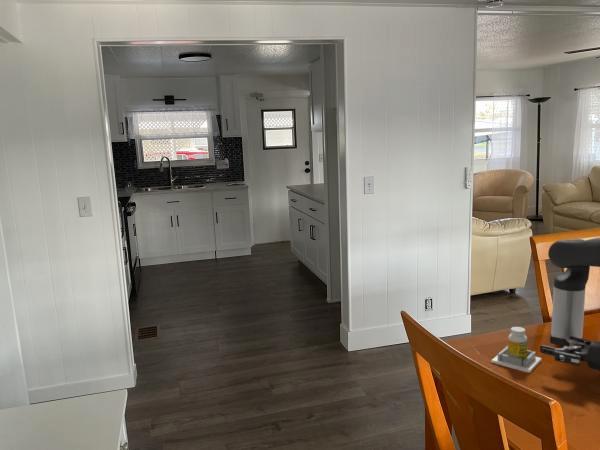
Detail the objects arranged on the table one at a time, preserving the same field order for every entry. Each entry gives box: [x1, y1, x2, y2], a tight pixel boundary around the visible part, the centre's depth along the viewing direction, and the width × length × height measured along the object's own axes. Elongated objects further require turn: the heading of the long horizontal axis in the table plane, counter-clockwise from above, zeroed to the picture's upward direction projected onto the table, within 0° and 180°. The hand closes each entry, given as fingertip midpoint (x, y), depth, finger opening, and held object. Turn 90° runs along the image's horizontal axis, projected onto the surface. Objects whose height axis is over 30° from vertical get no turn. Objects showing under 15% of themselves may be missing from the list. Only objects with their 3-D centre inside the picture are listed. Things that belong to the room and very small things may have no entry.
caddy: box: [490, 345, 543, 374], centre depth 150 cm, size 10×11×3 cm
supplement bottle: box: [507, 326, 528, 360], centre depth 149 cm, size 5×5×10 cm
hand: (545, 343), depth 143 cm, fingers open, 8 cm apart
